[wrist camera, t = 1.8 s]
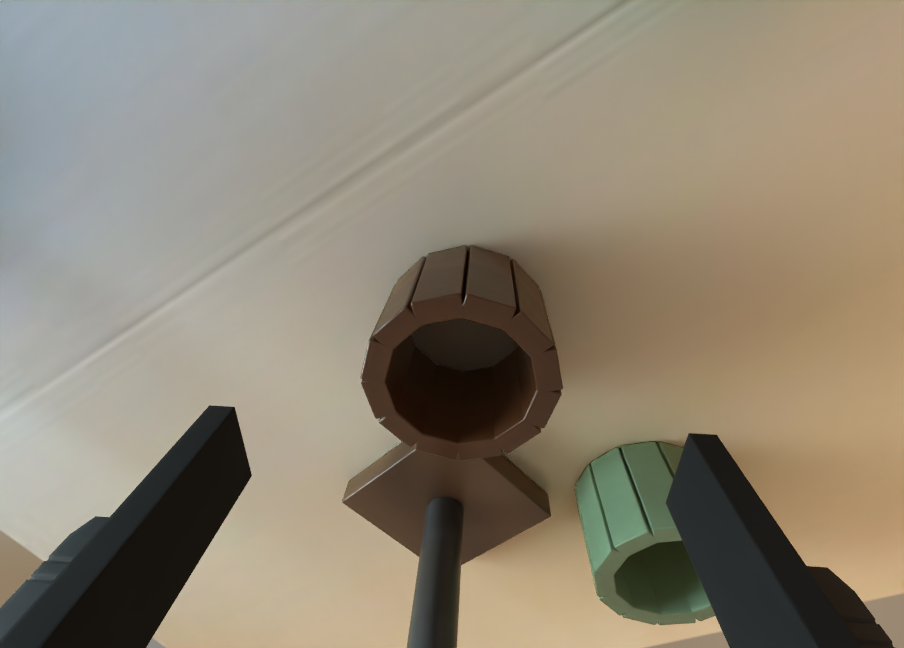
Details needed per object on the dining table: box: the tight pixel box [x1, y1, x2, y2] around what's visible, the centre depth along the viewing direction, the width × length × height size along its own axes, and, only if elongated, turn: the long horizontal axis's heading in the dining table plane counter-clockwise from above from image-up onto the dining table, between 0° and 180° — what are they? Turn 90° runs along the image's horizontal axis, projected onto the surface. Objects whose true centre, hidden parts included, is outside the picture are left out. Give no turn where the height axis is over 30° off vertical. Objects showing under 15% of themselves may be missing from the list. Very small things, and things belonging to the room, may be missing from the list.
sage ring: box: [575, 441, 716, 625], centre depth 22 cm, size 7×7×5 cm
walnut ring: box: [361, 246, 563, 461], centre depth 18 cm, size 7×7×5 cm
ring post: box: [342, 442, 551, 648], centre depth 19 cm, size 8×8×14 cm
